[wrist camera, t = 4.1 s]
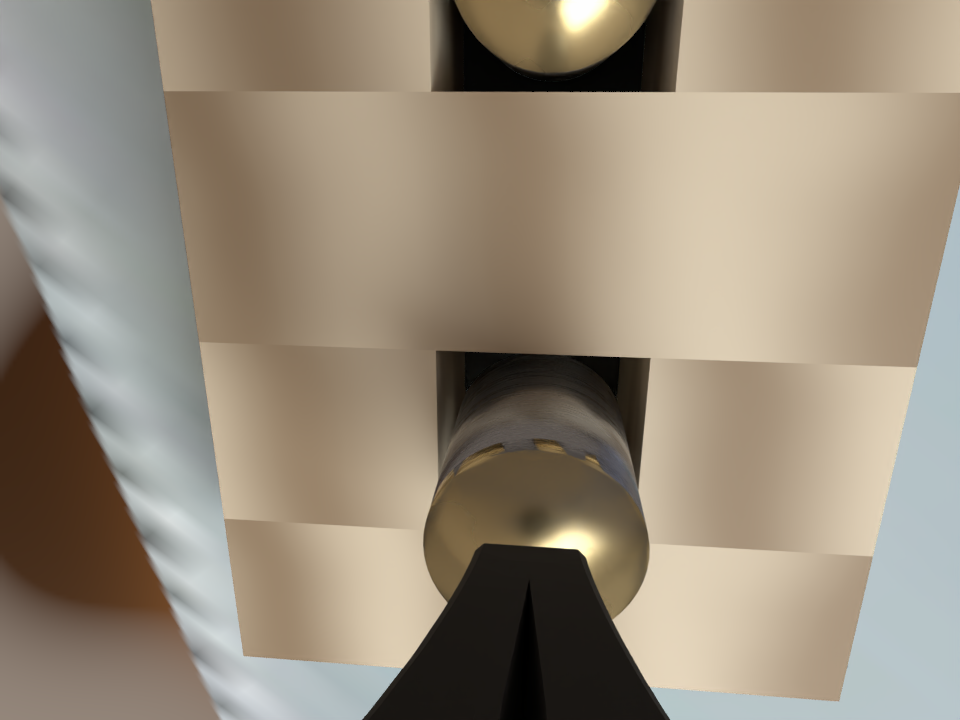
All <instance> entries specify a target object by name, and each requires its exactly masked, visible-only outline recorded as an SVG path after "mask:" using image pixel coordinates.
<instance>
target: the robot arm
mask: <svg viewBox="0 0 960 720" xmlns="http://www.w3.org/2000/svg"><path fill="white" fill-rule="evenodd" d="M362 720H670V719H669V717H668V716H667V714H666V713H665V711H664V710H663V708H662V707H661V705H660V703H659V702H658V700H657V698H656V697H655V695H654V694H653V692H652V690H651V689H650V687H649V685H648V684H647V682H646V680H645V679H644V677H643V675H642V673H641V672H640V670H639V668H638V666H637V665H636V663H635V661H634V659H633V657H632V656H631V654H630V652H629V650H628V649H627V647H626V645H625V643H624V642H623V640H622V638H621V636H620V634H619V632H618V630H617V628H616V626H615V624H614V623H613V621H612V618H611V616H610V614H609V612H608V610H607V608H606V606H605V604H604V602H603V600H602V598H601V595H600V593H599V591H598V589H597V586H596V584H595V582H594V579H593V577H592V574H591V571H590V569H589V566H588V563H587V559H586V557H585V556H584V555H583V554H582V553H581V552H580V551H579V550H578V549H566V548H551V547H535V546H520V545H504V544H489V543H484V544H483V545H481V546H480V547H479V548H477V549H476V550H475V552H474V555H473V557H472V559H471V562H470V564H469V566H468V568H467V570H466V572H465V574H464V576H463V577H462V579H461V581H460V583H459V585H458V586H457V588H456V590H455V592H454V593H453V595H452V596H451V598H450V600H449V601H448V603H447V605H446V606H445V608H444V610H443V611H442V613H441V614H440V616H439V617H438V619H437V620H436V622H435V623H434V625H433V626H432V628H431V629H430V631H429V632H428V634H427V635H426V637H425V638H424V640H423V641H422V643H421V644H420V645H419V647H418V648H417V650H416V651H415V653H414V654H413V655H412V657H411V658H410V660H409V661H408V662H407V664H406V665H405V666H404V667H403V669H402V670H401V671H400V673H399V674H398V675H397V677H396V678H395V679H394V680H393V682H392V683H391V684H390V686H389V687H388V688H387V689H386V691H385V692H384V693H383V695H382V696H381V697H380V698H379V700H378V701H377V702H376V704H375V705H374V706H373V707H372V709H371V710H370V711H369V712H368V714H367V715H366V716H365V717H364V718H363V719H362Z"/></svg>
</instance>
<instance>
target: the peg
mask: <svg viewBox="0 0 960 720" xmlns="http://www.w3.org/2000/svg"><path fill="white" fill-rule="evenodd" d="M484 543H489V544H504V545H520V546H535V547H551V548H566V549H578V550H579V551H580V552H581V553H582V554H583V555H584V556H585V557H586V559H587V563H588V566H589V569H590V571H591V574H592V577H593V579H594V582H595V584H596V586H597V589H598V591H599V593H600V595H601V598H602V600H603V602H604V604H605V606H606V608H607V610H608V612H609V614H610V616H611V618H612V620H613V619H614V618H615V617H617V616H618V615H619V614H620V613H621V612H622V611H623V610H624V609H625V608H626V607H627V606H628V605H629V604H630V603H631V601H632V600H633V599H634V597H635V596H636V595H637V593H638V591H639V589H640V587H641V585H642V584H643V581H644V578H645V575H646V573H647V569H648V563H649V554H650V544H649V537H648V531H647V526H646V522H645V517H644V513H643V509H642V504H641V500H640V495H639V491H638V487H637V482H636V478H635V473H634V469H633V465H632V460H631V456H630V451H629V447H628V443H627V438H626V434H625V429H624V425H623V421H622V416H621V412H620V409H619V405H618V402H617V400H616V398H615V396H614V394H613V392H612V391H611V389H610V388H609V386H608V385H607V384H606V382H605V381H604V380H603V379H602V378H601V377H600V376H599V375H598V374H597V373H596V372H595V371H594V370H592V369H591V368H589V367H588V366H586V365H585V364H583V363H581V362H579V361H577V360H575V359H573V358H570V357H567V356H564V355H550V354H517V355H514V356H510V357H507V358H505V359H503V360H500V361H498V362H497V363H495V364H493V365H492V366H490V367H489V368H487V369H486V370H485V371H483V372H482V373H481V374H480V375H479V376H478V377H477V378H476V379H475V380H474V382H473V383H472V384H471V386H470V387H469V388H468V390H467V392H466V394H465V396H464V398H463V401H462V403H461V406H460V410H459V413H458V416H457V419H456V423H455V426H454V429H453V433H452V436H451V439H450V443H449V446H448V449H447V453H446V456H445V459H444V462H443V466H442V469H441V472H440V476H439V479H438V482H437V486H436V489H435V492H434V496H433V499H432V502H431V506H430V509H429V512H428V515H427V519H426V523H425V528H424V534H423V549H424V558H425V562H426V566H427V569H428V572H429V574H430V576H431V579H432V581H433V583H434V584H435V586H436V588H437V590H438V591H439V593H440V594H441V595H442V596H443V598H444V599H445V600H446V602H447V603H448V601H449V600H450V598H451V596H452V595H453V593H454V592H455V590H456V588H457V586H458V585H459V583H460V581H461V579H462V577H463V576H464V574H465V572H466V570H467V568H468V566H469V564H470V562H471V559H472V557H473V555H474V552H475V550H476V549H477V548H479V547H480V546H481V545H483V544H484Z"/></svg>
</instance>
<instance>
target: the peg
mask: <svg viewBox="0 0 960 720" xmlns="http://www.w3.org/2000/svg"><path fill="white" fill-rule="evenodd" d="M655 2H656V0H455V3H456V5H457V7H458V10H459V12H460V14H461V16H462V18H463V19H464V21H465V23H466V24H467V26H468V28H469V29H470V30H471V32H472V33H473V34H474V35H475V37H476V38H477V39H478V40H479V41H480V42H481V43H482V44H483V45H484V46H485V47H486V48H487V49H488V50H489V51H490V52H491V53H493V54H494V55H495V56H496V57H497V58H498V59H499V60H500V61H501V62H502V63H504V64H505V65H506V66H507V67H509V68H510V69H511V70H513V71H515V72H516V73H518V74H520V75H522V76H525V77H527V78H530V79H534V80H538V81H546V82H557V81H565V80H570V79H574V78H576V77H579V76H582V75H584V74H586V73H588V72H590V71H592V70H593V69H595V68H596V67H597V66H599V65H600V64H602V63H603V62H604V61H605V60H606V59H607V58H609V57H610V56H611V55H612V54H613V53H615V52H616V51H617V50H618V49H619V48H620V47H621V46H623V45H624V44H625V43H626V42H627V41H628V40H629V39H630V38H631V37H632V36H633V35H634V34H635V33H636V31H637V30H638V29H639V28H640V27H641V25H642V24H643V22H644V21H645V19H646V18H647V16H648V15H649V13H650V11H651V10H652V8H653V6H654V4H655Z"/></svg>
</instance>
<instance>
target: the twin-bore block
mask: <svg viewBox="0 0 960 720" xmlns="http://www.w3.org/2000/svg"><path fill="white" fill-rule="evenodd" d="M151 6H152V13H153V20H154V27H155V34H156V41H157V48H158V55H159V62H160V69H161V76H162V83H163V90H164V97H165V104H166V112H167V119H168V126H169V133H170V140H171V147H172V154H173V161H174V168H175V175H176V182H177V189H178V196H179V203H180V210H181V217H182V224H183V231H184V239H185V246H186V253H187V260H188V267H189V274H190V281H191V288H192V295H193V302H194V309H195V316H196V323H197V330H198V337H199V344H200V351H201V359H202V366H203V373H204V380H205V387H206V394H207V401H208V408H209V415H210V422H211V429H212V436H213V443H214V450H215V457H216V464H217V471H218V478H219V486H220V493H221V500H222V507H223V514H224V521H225V528H226V535H227V542H228V549H229V556H230V563H231V570H232V577H233V584H234V591H235V598H236V606H237V613H238V620H239V627H240V634H241V641H242V648H243V655H244V656H251V657H264V658H277V659H290V660H303V661H317V662H330V663H343V664H356V665H369V666H382V667H395V668H403V667H404V666H405V665H406V664H407V662H408V661H409V660H410V658H411V657H412V655H413V654H414V653H415V651H416V650H417V648H418V647H419V645H420V644H421V643H422V641H423V640H424V638H425V637H426V635H427V634H428V632H429V631H430V629H431V628H432V626H433V625H434V623H435V622H436V620H437V619H438V617H439V616H440V614H441V613H442V611H443V610H444V608H445V606H446V605H447V602H446V600H445V599H444V598H443V596H442V595H441V594H440V593H439V591H438V590H437V588H436V586H435V584H434V583H433V581H432V579H431V576H430V574H429V572H428V569H427V566H426V562H425V558H424V549H423V534H424V528H425V523H426V519H427V515H428V512H429V509H430V506H431V502H432V499H433V496H434V492H435V489H436V486H437V482H438V479H439V476H440V472H441V469H442V466H443V462H444V459H445V456H446V453H447V449H448V446H449V443H450V439H451V436H452V433H453V429H454V426H455V423H456V419H457V416H458V413H459V410H460V406H461V403H462V401H463V398H464V396H465V352H493V353H522V354H550V355H578V356H607V357H620V365H619V378H618V391H617V402H618V405H619V409H620V412H621V416H622V421H623V425H624V429H625V434H626V438H627V443H628V447H629V451H630V456H631V460H632V465H633V469H634V473H635V478H636V482H637V487H638V491H639V495H640V500H641V504H642V509H643V513H644V517H645V522H646V526H647V531H648V537H649V544H650V554H649V563H648V569H647V573H646V575H645V578H644V581H643V584H642V585H641V587H640V589H639V591H638V593H637V595H636V596H635V597H634V599H633V600H632V601H631V603H630V604H629V605H628V606H627V607H626V608H625V609H624V610H623V611H622V612H621V613H620V614H619V615H618V616H617V617H615V618H614V619H613V620H612V621H613V623H614V624H615V626H616V628H617V630H618V632H619V634H620V636H621V638H622V640H623V642H624V643H625V645H626V647H627V649H628V650H629V652H630V654H631V656H632V657H633V659H634V661H635V663H636V665H637V666H638V668H639V670H640V672H641V673H642V675H643V677H644V679H645V680H646V682H647V684H648V685H649V687H658V688H671V689H684V690H697V691H710V692H723V693H736V694H749V695H762V696H776V697H789V698H802V699H815V700H828V701H839V699H840V695H841V691H842V686H843V682H844V678H845V673H846V669H847V665H848V661H849V656H850V652H851V648H852V643H853V639H854V635H855V631H856V626H857V622H858V618H859V613H860V609H861V605H862V601H863V596H864V592H865V588H866V583H867V579H868V575H869V571H870V566H871V562H872V558H873V553H874V549H875V545H876V541H877V536H878V532H879V528H880V523H881V519H882V515H883V511H884V506H885V502H886V498H887V493H888V489H889V485H890V481H891V476H892V472H893V468H894V463H895V459H896V455H897V451H898V446H899V442H900V438H901V433H902V429H903V425H904V421H905V416H906V412H907V408H908V403H909V399H910V395H911V391H912V386H913V382H914V378H915V373H916V369H917V365H918V361H919V356H920V352H921V348H922V343H923V339H924V335H925V331H926V326H927V322H928V318H929V313H930V309H931V305H932V301H933V296H934V292H935V288H936V283H937V279H938V275H939V271H940V266H941V262H942V258H943V253H944V249H945V245H946V241H947V236H948V232H949V228H950V223H951V219H952V215H953V211H954V206H955V202H956V198H957V193H958V189H959V185H960V0H656V2H655V4H654V6H653V8H652V10H651V11H650V13H649V15H648V16H647V18H646V28H645V41H644V54H643V66H642V79H641V92H464V19H463V18H462V16H461V14H460V12H459V10H458V7H457V5H456V3H455V0H151Z"/></svg>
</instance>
